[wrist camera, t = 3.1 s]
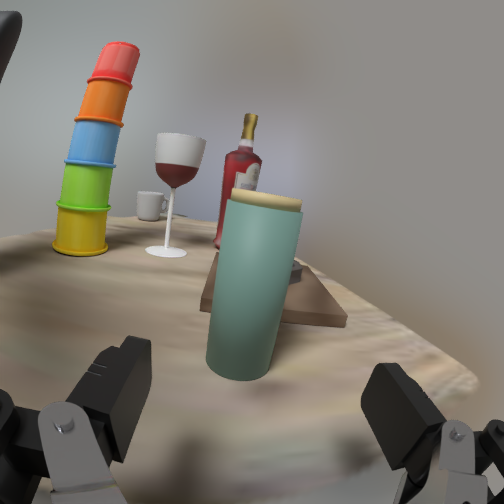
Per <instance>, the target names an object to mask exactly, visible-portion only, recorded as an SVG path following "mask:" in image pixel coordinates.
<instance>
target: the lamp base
mask: <svg viewBox="0 0 504 504" xmlns="http://www.w3.org/2000/svg"><path fill="white" fill-rule="evenodd" d="M218 257H219V252H216V255H215V258H214V261H213V264H212V267H211V270H210V272H209V275H208V278H207V281H206V284H205V287H204V290H203V293H202V296H201V303H200V311H204V312H211V309H212V301H213V294H214V286H215V279H216V272H217V264H218ZM347 317H348V315H347V314H346V313H345V312H344V310H343V309H342V308H341V307H340V305H339V304H338V303H337V302H336V300H335V299H334V298H333V297H332V295H331V294H330V293H329V292H328V290H327V289H326V288H325V287H324V285H323V284H322V283H321V282H320V281H319V279H318V278H317V277H316V276H315V274H314V273H313V272H312V271H311V270H310V268H309V267H308V266H304V265H300V264H299V262H297V261H295V260H294V261H293V266H292V271H291V276H290V280H289V285H288V289H287V294H286V298H285V303H284V307H283V311H282V316H281V320H280V322H287V323H296V324H307V325H318V326H330V327H343V328H344V326H345V323H346V320H347Z"/></svg>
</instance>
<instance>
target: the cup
mask: <svg viewBox="0 0 504 504" xmlns="http://www.w3.org/2000/svg"><path fill="white" fill-rule="evenodd" d="M164 200H165V201H166V208H165V209H164V210H162V203H163V201H164ZM169 202H170V201H169V199H168V198H166V197H164V194H163V193H157V192H147V191H138V192H137V217H138V218H139V219H141V220H145V221H156V220H158V218H159V215H160V213H165V212H167V211H168V209H169Z"/></svg>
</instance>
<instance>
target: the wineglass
mask: <svg viewBox="0 0 504 504" xmlns="http://www.w3.org/2000/svg"><path fill="white" fill-rule="evenodd" d="M205 144H206V140H204V139H202V138H198V137H194V136H190V135H184V134H175V133H159V134H158V136H157V143H156V153H155V164H156V172H157V174H158V176H159V177H160V178H161V179H162V180H163V181H164V182H166V183H167V184H168V185H169V186H170V187H171V195H170V202H169V210H168V218H167V227H166V236H165V246H151V247H148V248H146V252H147V253H150V254H152V255H156V256H160V257H170V258H174V257H183V256H185V255H186V254H187V253H186V252H185V251H184V250H181V249H179V248H175V247H169V238H170V229H171V221H172V212H173V205H174V198H175V190H176V188H177V187H179V186H181V185H183V184H186V183H188V182H189V181H190V180H192V179H193V178H194V177H195V175H196V174H197V172H198V169H199V166H200V164H201V161H202V157H203V153H204V149H205Z"/></svg>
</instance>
